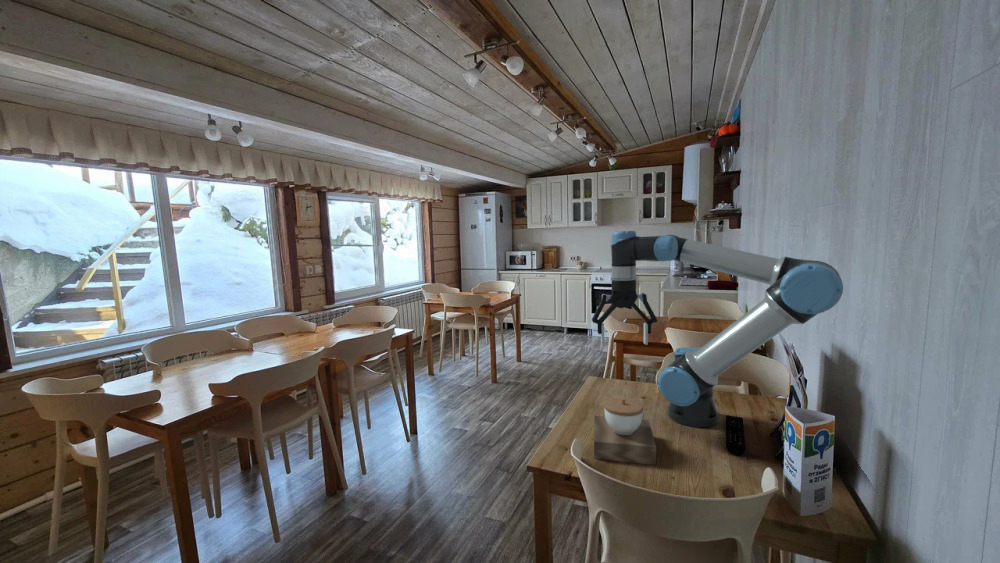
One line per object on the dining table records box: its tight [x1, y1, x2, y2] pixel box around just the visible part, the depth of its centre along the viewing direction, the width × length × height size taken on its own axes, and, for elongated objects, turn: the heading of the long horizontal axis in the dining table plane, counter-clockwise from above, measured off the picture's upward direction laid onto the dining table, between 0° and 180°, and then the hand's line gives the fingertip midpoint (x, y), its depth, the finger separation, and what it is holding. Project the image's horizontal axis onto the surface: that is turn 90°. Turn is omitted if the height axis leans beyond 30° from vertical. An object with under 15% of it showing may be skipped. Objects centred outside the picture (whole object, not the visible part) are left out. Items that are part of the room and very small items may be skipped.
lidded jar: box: [603, 396, 644, 435], centre depth 117 cm, size 11×11×9 cm
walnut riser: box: [593, 415, 657, 466], centre depth 117 cm, size 16×16×5 cm
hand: (624, 343), depth 133 cm, fingers open, 13 cm apart
